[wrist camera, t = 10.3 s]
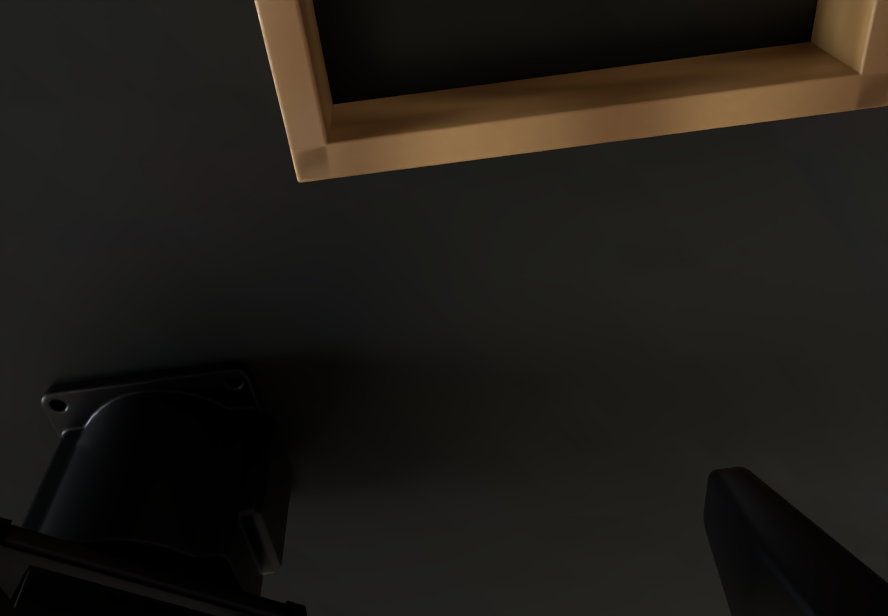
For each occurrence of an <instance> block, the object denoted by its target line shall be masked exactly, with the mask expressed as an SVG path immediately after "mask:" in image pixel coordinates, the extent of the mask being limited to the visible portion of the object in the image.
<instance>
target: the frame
mask: <svg viewBox="0 0 888 616" xmlns="http://www.w3.org/2000/svg"><path fill="white" fill-rule="evenodd" d="M254 1H255V5H256V9H257V13H258V18H259V22H260V26H261V30H262V34H263V38H264V42H265V47H266V51H267V55H268V59H269V63H270V67H271V71H272V76H273V80H274V84H275V88H276V92H277V96H278V100H279V105H280V109H281V113H282V117H283V121H284V125H285V129H286V134H287V138H288V142H289V146H290V151H291V155H292V159H293V164H294V168H295V172H296V176H297V180H298V182H300V183H301V182H309V181H316V180H324V179H332V178H339V177H347V176H354V175H362V174H370V173H377V172H385V171H393V170H400V169H408V168H416V167H423V166H431V165H438V164H446V163H454V162H461V161H469V160H477V159H484V158H492V157H500V156H507V155H515V154H523V153H530V152H538V151H545V150H553V149H561V148H568V147H576V146H584V145H591V144H599V143H607V142H614V141H622V140H629V139H637V138H645V137H652V136H660V135H668V134H675V133H683V132H691V131H698V130H706V129H714V128H721V127H729V126H736V125H744V124H752V123H759V122H767V121H775V120H782V119H790V118H798V117H805V116H813V115H820V114H828V113H836V112H843V111H851V110H859V109H866V108H874V107H882V106H888V0H818V2H817V8H816V14H815V20H814V26H813V31H812V37H811V42H805V43H798V44H790V45H782V46H775V47H767V48H760V49H752V50H744V51H737V52H729V53H722V54H714V55H706V56H699V57H691V58H683V59H676V60H668V61H661V62H653V63H645V64H638V65H630V66H622V67H615V68H607V69H600V70H592V71H584V72H577V73H569V74H562V75H554V76H546V77H539V78H531V79H523V80H516V81H508V82H501V83H493V84H485V85H478V86H470V87H462V88H455V89H447V90H440V91H432V92H424V93H417V94H409V95H402V96H394V97H386V98H379V99H371V100H363V101H356V102H348V103H341V104H333V102H332V97H331V92H330V87H329V82H328V77H327V72H326V67H325V62H324V57H323V52H322V46H321V41H320V36H319V31H318V26H317V21H316V16H315V11H314V6H313V1H312V0H254Z"/></svg>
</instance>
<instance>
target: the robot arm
mask: <svg viewBox="0 0 888 616" xmlns="http://www.w3.org/2000/svg"><path fill="white" fill-rule="evenodd" d="M231 376H235V377H238V378H240V379H241V380H232V379H230V378H229V377H231ZM56 399H58V400H62V401H64V402H65V403H61V402H59V401H57V400H56ZM41 405H42V408H43V410H44V412H45V413H46V415H47V417H48V419H49V421H50V422H51V424H52V426H53V428H54V429H55V431H56V433H57V435H58V437H59V438H60V442H59V444H58V446H57V448H56V450H55V452H54V454H53V457H52V459H51V461H50V463H49V465H48V467H47V470H46V472H45V474H44V476H43V478H42V480H41V483H40V485H39V487H38V489H37V491H36V493H35V496H34V498H33V500H32V502H31V504H30V506H29V509H28V511H27V513H26V515H25V517H24V519H23V522H22V524H21V526H20V527H18V526H15V525H11V522H12V521H11V520H8V519H4V518H1V517H0V616H307V612H306V607H305V606H304V605H301V604H297V603H294V602H290V601H287V602H286V603H282V602H278V601H275V600H271V599H268V598H264V597H261V596H260V594H261V587H262V580H263V574H271V573H275V572H276V571H277V570H278V569H279V567H280V566H281V565H282V557H283V549H284V540H285V531H286V523H287V514H288V506H289V502H290V495H291V489H290V488H291V480H292V467H291V464H290V461H289V458H288V455H287V452H286V449H285V446H284V442H283V439H282V436H281V433H280V430H279V427H278V424H277V421H276V420H275V419H274V418H273V417H271V416H270V415H267V416H266V414H265V411H264V408H263V405H262V402H261V399H260V396H259V393H258V390H257V387H256V384H255V381H254V378H253V375H252V372H251V371H250V369H249V368H248V367H247V366H246V365H244V364H242V363H239V362H228V363H220V364H213V365H205V366H197V367H190V368H182V369H174V370H167V371H159V372H151V373H144V374H136V375H128V376H121V377H113V378H105V379H97V380H90V381H82V382H74V383H67V384H59V385H54V386H51V387H49V388H48V389H47V390H46V392H45V394H44V396H43V398H42V401H41ZM704 525H705V530H706V534H707V537H708V540H709V543H710V547H711V550H712V553H713V556H714V560H715V563H716V566H717V569H718V573H719V576H720V579H721V582H722V586H723V589H724V592H725V595H726V599H727V602H728V605H729V608H730V612H731V615H732V616H888V583H887V582H886V581H885V580H884V579H882V578H881V577H880V576H879V575H877V574H876V573H875V572H874V571H872V570H871V569H870V568H869V567H868V566H866V565H865V564H864V563H863V562H861V561H860V560H859V559H858V558H856V557H855V556H854V555H853V554H852V553H850V552H849V551H848V550H847V549H845V548H844V547H843V546H842V545H840V544H839V543H838V542H837V541H836V540H834V539H833V538H832V537H831V536H829V535H828V534H827V533H826V532H824V531H823V530H822V529H821V528H820V527H818V526H817V525H816V524H815V523H813V522H812V521H811V520H810V519H808V518H807V517H806V516H805V515H804V514H802V513H801V512H800V511H799V510H797V509H796V508H795V507H794V506H793V505H791V504H790V503H789V502H788V501H786V500H785V499H784V498H783V497H781V496H780V495H779V494H778V493H777V492H775V491H774V490H773V489H772V488H770V487H769V486H768V485H767V484H765V483H764V482H763V481H762V480H761V479H759V478H758V477H757V476H756V475H754V474H753V473H752V472H751V471H749V470H748V469H746V468H743V467H733V468H725V469H718V470H714V471H712V472H711V473H710V475H709V478H708V484H707V491H706V499H705V506H704Z"/></svg>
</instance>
